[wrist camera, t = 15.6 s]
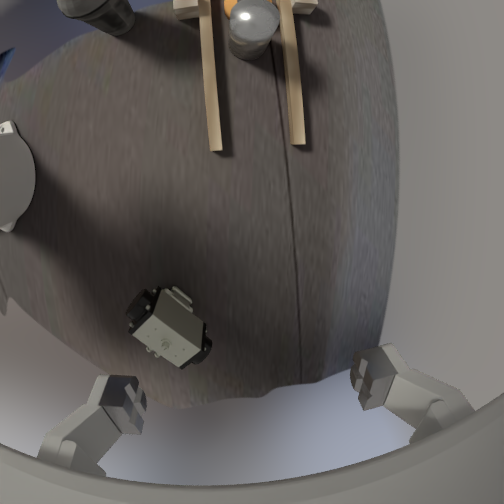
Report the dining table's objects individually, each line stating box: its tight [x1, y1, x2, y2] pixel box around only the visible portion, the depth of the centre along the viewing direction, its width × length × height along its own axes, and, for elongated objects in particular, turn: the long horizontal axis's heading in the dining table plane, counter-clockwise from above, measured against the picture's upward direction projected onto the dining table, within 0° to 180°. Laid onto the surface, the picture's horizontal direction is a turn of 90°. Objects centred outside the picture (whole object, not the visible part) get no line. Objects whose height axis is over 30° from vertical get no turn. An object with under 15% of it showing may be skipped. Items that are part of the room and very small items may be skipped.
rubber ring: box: [224, 0, 272, 20], centre depth 27 cm, size 6×6×3 cm
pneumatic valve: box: [126, 286, 212, 369], centre depth 38 cm, size 6×12×12 cm, turn 43°
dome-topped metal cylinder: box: [229, 0, 280, 60], centre depth 26 cm, size 5×5×10 cm
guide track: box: [173, 0, 318, 151], centre depth 29 cm, size 18×26×4 cm
